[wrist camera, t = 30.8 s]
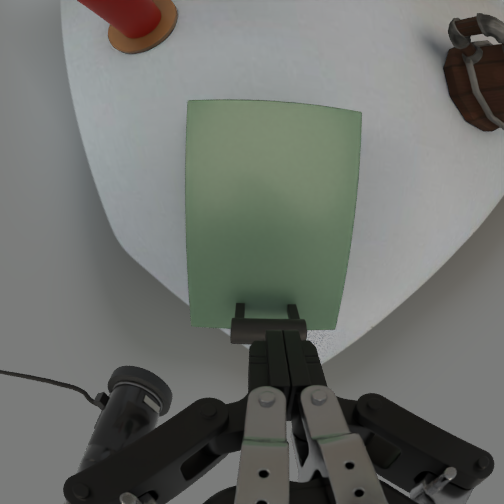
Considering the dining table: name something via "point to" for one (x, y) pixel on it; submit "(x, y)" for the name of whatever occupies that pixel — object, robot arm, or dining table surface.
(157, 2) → the disc
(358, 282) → the dining table surface
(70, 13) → the dining table surface
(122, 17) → the sauce bottle
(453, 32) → the mug
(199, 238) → the chest lid
